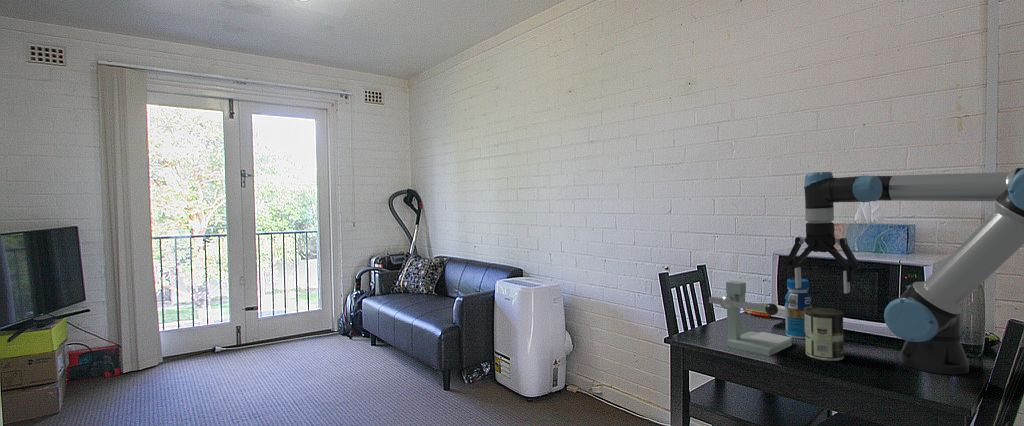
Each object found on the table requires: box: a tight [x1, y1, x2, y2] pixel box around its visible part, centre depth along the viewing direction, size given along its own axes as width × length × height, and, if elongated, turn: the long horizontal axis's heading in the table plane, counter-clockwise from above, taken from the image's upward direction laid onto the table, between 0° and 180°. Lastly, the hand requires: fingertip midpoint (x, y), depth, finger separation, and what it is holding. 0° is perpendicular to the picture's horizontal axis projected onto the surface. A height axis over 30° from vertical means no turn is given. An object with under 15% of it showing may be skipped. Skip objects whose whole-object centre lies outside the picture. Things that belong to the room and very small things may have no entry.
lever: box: [708, 295, 779, 316], centre depth 161 cm, size 22×4×4 cm, turn 38°
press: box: [725, 280, 793, 357], centre depth 166 cm, size 15×18×21 cm
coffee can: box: [804, 306, 845, 362], centre depth 154 cm, size 10×10×14 cm
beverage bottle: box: [784, 277, 813, 340], centre depth 175 cm, size 8×8×20 cm
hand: (821, 290), depth 154 cm, fingers open, 13 cm apart
